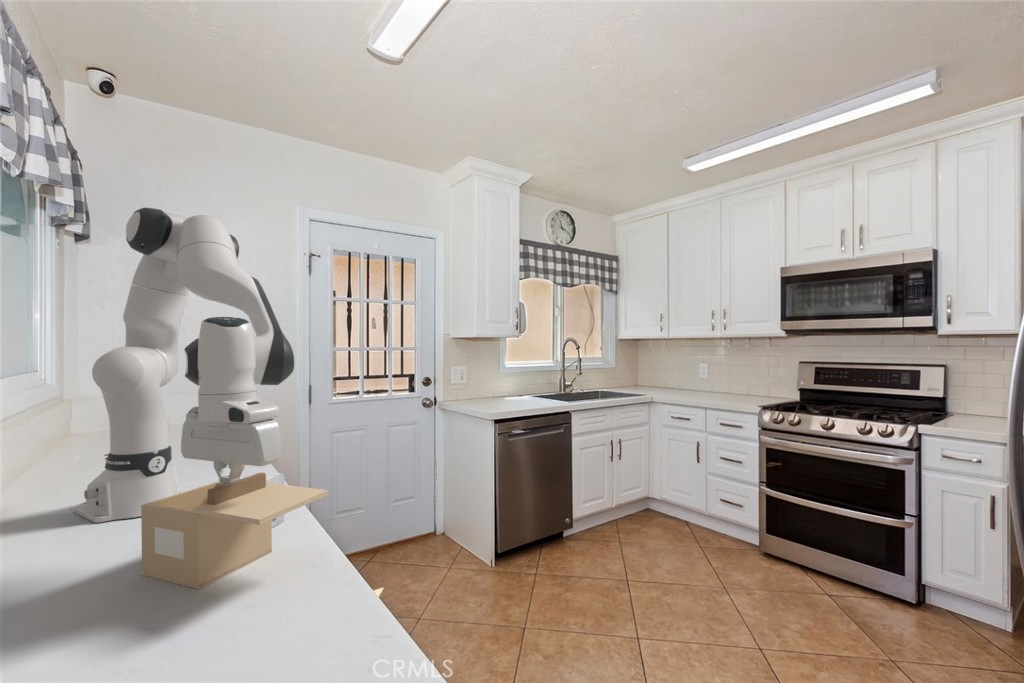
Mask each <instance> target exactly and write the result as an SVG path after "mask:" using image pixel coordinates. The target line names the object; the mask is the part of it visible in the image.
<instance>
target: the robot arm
mask: <svg viewBox="0 0 1024 683" xmlns="http://www.w3.org/2000/svg"><path fill="white" fill-rule="evenodd" d="M229 232H230V231H228V229H227V227H226V225H225V224H224V223H223V222H222V221H221V220H220V219H217V218H215V217H213V216H210V215H205V214H204V215H203V214H198V215H192V216H189V217H188V218H187V217H185V216H181V215H178V214H173V213H170V212H165V211H163V210H162V209H160V208H159V209H158V208H152V207H142V208H139V209H137V210H135V211H134V212H133V213H132V215H131V216H130V218H129V219H128V220H127V223H126V226H125V240H126V242H127V244H128V245H129V247H130V249H132V250H133V251H136V252H138V253H141V254H142V256H141V259H140V261H139V262H138V265H137V267H136V270H135V272H134V274H133V278H132V281H131V285H130V289H129V292H128V297H127V299H126V300H127V301H126V304H125V308H124V312H123V314H122V317H123V318H122V319H123V322H124V325H125V345H124V346H121V347H117V348H113V349H112V350H109V351H108V352H105V353H103V354H102V355H101V356H100V357H99V358H97V359H96V361H95V362H94V364H93V366H92V370H91V371H92V373H91V374H92V379H93V381H94V383H95V384H96V386H98V388H99V389H100V391H101V395H102V397H103V400H104V404H105V407H106V411H107V415H108V420H109V447H110V450H109V451H110V452H109V453H108V454H104V457H105V458H104V460H105V465H104V468H105V469H104V470H103V471H102V472H101V473H100V474H99V475H98V476H96V478H94V479H93V480H92V481H91V482H90V483H88V485H87V487H86V489H85V490H84V492H83V493H84V494H83V495H84V499H85V500H86V501H85V502H82V503H80V504H77V505H75V506H73V507H72V512H74V514H77V515H79V516H81V517H83V518H85V519H87V520H88V521H91V522H92V523H96V524H98V523H103V522H104V523H105V522H109V521H116V520H125V519H132V518H133V519H134V518H138V517H141V505H143V504H146V503H149V502H153V501H156V500H159V499H162V498H166V497H169V496H172V495H175V494H179V493H182V492H183V491H179V489H178V480H177V473H176V466H175V465H173V464H172V463H171V461H172V455H173V451H172V446H171V445H170V433H169V432H170V420H169V413H168V411H167V410H166V408H165V405H164V401H163V397H162V392H161V388H163V387H164V386H166V385H168V384H169V383H170V382H171V381H172V380H173V379H174V378H175V376H176V375H177V373H178V369H179V363H178V354H179V353H178V352H179V336H180V327H181V322H182V318H183V314H184V311H185V310H184V309H185V306H186V302H187V298H188V294H189V292H191V293H192V294H194V295H196V296H197V297H199V298H202V299H204V300H208V301H212V302H217V303H219V304H224V305H227V306H230V307H233V308H235V309H237V310H240V311H241V312H243V313H245V314H246V315H247V317H248V318H249V320H250V321H249V320H247V319H245V318H241V317H232V316H216V317H215V316H214V317H208V318H206V319H203V320H202V321H201V323H200V328H199V335H198V337H197V338H196V339H194V340H193V341H192V342H190V343H189V344H188V345H187V346H186V347H184V354H185V361H186V362H185V363H186V365H185V367H186V368H185V374H184V377H185V378H186V380H188V381H190V382H192V383H193V384H194V385H196V386H199V387H198V391H197V394H198V396H197V399H198V400H197V404H198V405H197V406H194V407H191V408H190V409H189V411H188V412H187V413H186V415H185V420H184V423H183V425H182V430H181V439H180V441H181V442H180V453H181V455H182V456H183V458H184V459H190V460H200V461H207V462H213V468H214V470H215V473H216V474H217V477H218V481H219V485H220V486H221V485H224V484H227V483H230V482H233V481H237V480H240V479H241V478H240V477H241V475H242V473H243V471H244V469H245V467H246V466H254V467H266V466H268V465H273V464H275V463H276V462H278V460H279V458H280V456H281V430H280V426H279V423H278V421H277V420H276V419H277V418H279V416H280V409H279V406H277V405H276V404H273V403H272V402H270V401H267V400H265V399H263V398H262V397H261V396H259V395H258V396H257V386H256V385H260V386H279V385H280V384H282V383H283V382H284V381H286V380H287V379H288V378H289V377H290V376H291V374H292V373H293V372H294V369H295V355H294V351H293V348H292V345H291V344H290V341H289V340H288V338H287V337H286V336H285V334H284V333H283V331H282V329H281V327H280V323H279V322H278V319H277V317H276V315H275V313H274V311H273V308H272V306H271V303H270V301H269V298H268V297H267V295H266V292H265V290H264V289H263V286H262V284H261V282H260V281H259V280H258V279H257V278H256V277H253V276H252V275H251V274H249V273H248V272H247V271H245V269H244V268H243V267H242V266H241V265H240V263H239V262H238V259H239V258H238V257H239V253H240V245H239V242H238V240H237V238H236V237H235V236H234V235H232V234H230V233H229ZM253 330H254V331H253ZM254 333H255V335H256V336H255V335H254ZM106 456H107V457H106Z"/></svg>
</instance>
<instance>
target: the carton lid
mask: <svg viewBox="0 0 1024 683" xmlns="http://www.w3.org/2000/svg"><path fill="white" fill-rule="evenodd" d="M254 474H255V473H254ZM251 475H252V476H250V475H248V476H249V477H247V476H245V477H246V478H245V477H243V479H242V478H240V480H237V481H233V482H230V483H227V484H224V485H221V486H218V487H215V488H211V489H208V503H207V504H204V505H202V506H199V507H196V508H193V514H199V515H205V516H211V517H216V518H222V519H228V520H234V521H239V522H245V523H251V524H257V525H261V524H263V523H265V522H268V521H270V520H272V519H274V518H277V517H279V516H281V515H284V516H285V514H288V513H290V512H292V511H295V510H297V509H299V508H302V507H304V506H306V505H308V504H310V503H313V502H316V501H318V500H320V499H321V498H325V497H327V496H329V490H327V489H322V488H321V489H320V488H314V487H306V486H297V485H291V484H290V485H289V484H284V485H283V484H275V483H266V474H261V473H259V474H255V475H253V474H251Z"/></svg>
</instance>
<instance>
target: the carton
mask: <svg viewBox="0 0 1024 683" xmlns="http://www.w3.org/2000/svg"><path fill="white" fill-rule="evenodd" d="M218 486H220V485H219V480H218V481H215V482H211V483H209V484H206V485H205V484H204V485H201V486H198V487H194V488H192V489H189V490H186V491H181V492H182V493H179V494H175V495H172V496H169V497H166V498H162V499H159V500H156V501H153V502H149V503H146V504H143V505H141V516H140V517H141V522H140V524H141V526H140V527H141V575H142V576H145V577H149V578H153V579H157V580H161V581H166V582H169V583H173V584H177V585H182V586H185V587H190V588H194V589H197V590H202V589H203V588H204V587H207V586H209V585H210V584H212V583H214V582H216V581H218V580H220V579H222V578H224V577H226V576H228V575H230V574H232V573H234V572H236V571H237V570H240V569H241V568H243V567H246V566H247V565H249V564H251V563H253V562H255V561H257V560H259V559H261V558H262V557H265V556H267V555H269V554H270V553H272V552H273V550H272V548H273V545H272V544H273V543H272V542H273V541H272V538H273V536H272V528H271V520H270V521H268V522H265V523H263V524H261V525H257V524H251V523H245V522H239V521H234V520H228V519H222V518H216V517H211V516H205V515H199V514H193V508H196V507H199V506H202V505H204V504H207V503H208V489H211V488H215V487H218Z"/></svg>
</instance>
